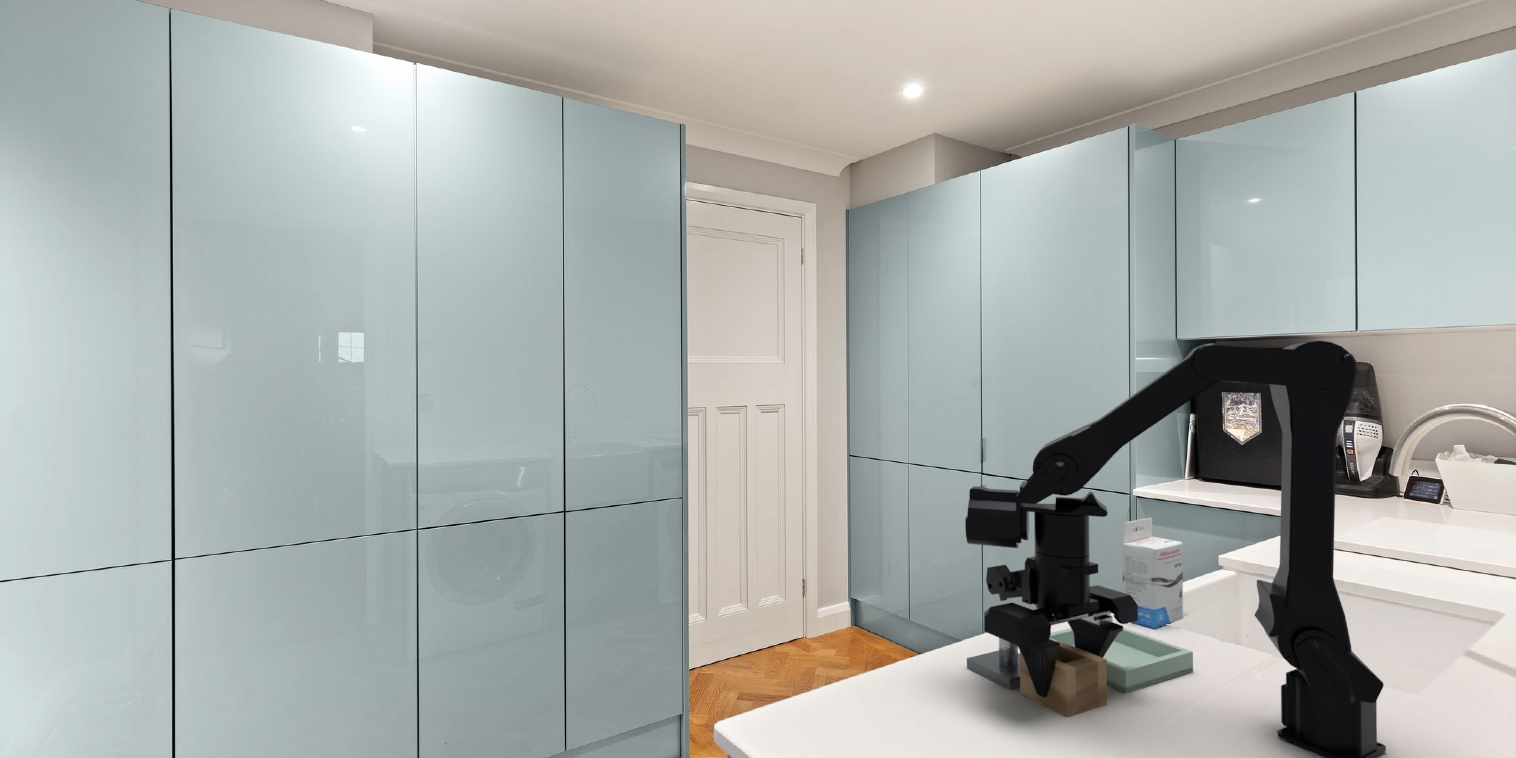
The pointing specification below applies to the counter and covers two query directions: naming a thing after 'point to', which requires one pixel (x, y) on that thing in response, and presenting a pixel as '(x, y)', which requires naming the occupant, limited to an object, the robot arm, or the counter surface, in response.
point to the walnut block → (1070, 682)
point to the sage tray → (1138, 659)
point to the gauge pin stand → (999, 665)
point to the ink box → (1153, 574)
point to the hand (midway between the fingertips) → (1062, 689)
